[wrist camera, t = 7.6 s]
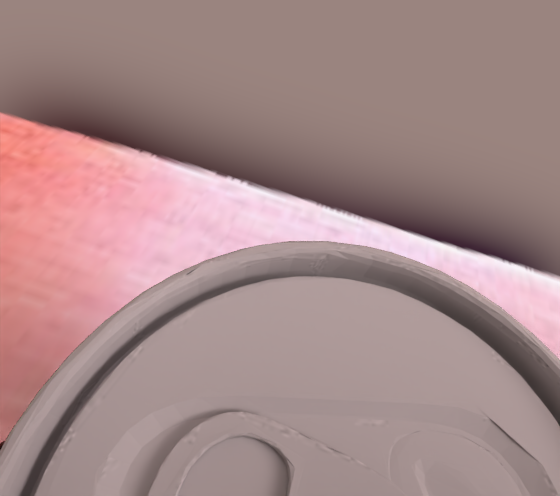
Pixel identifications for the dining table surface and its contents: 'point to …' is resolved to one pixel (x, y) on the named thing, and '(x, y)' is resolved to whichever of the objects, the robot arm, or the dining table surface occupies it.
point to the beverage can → (297, 387)
